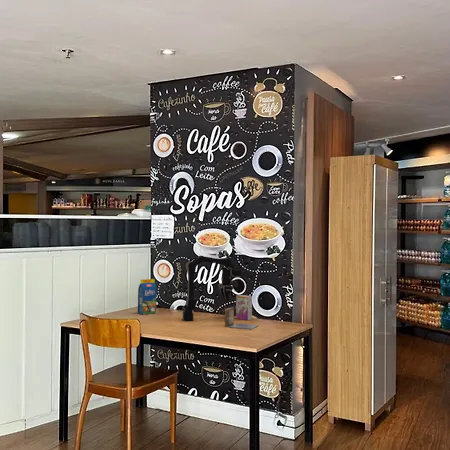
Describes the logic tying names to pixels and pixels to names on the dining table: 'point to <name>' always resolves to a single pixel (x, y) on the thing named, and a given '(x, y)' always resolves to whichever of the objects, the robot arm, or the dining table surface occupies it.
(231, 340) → the dining table surface
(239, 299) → the candy bar box
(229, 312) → the walnut tile
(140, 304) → the blue food package
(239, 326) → the slate board
